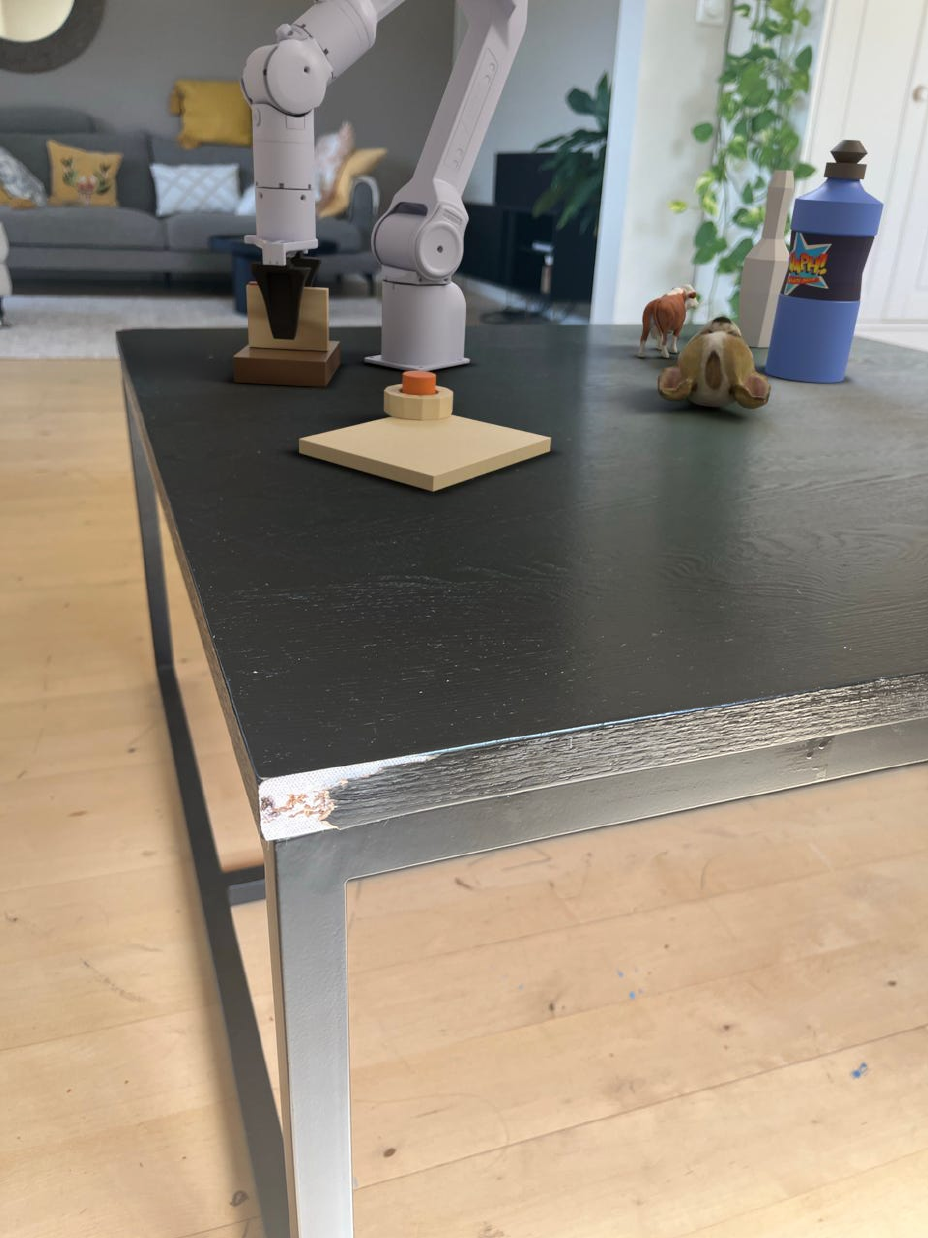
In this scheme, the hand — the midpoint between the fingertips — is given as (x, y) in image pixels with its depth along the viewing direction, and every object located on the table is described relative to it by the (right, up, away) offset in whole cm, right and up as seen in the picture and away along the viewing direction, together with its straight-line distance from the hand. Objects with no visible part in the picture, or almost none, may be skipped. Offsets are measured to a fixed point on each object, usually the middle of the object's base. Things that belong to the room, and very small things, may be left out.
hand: (288, 334), depth 97 cm
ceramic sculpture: (+42, -8, -2) cm, 43 cm away
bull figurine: (+43, +5, +25) cm, 50 cm away
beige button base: (+15, -16, -22) cm, 31 cm away
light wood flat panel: (0, -1, +1) cm, 1 cm away
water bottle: (+58, 0, +16) cm, 61 cm away
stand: (0, -4, +2) cm, 4 cm away
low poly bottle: (+58, +9, +36) cm, 69 cm away
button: (+14, -10, -17) cm, 24 cm away
